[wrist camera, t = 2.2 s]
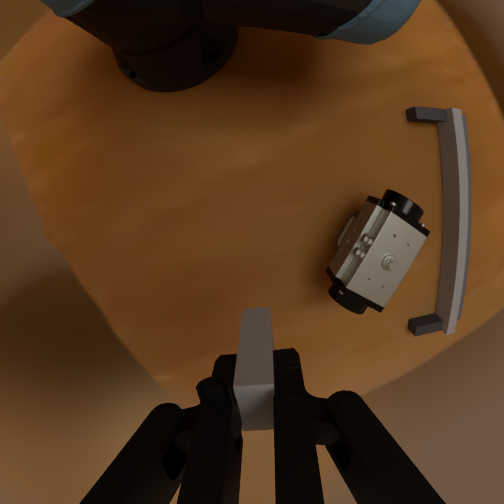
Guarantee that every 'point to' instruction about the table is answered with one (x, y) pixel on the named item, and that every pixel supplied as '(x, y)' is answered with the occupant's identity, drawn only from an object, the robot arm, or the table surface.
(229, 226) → the table surface
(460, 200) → the curved pull handle
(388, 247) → the pneumatic valve
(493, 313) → the table surface
